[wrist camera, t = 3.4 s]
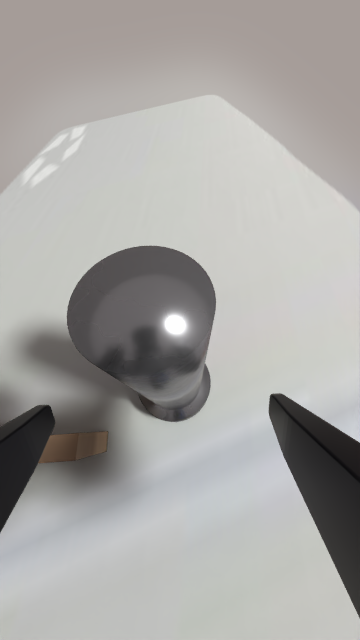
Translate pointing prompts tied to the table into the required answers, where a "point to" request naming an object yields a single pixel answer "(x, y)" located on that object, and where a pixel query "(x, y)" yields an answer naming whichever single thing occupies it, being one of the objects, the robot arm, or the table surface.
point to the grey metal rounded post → (148, 326)
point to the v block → (74, 446)
